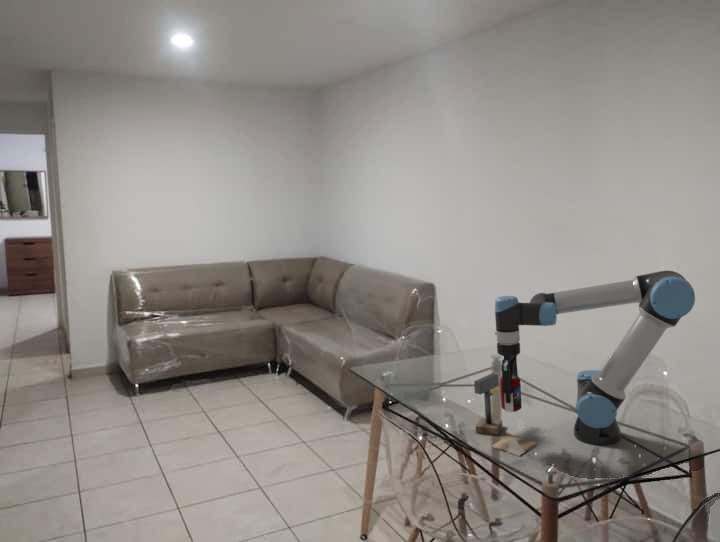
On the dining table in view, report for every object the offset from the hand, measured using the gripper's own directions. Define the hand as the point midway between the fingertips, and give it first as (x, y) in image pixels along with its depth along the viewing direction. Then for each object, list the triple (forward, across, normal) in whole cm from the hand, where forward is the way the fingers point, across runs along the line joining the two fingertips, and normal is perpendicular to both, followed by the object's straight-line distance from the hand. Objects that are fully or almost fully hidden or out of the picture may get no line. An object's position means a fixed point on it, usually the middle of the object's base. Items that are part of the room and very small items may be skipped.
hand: (511, 407), depth 198 cm
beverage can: (+1, 0, 0) cm, 1 cm away
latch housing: (+14, -11, -11) cm, 21 cm away
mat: (+14, 0, 0) cm, 14 cm away
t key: (+11, -14, -10) cm, 20 cm away
